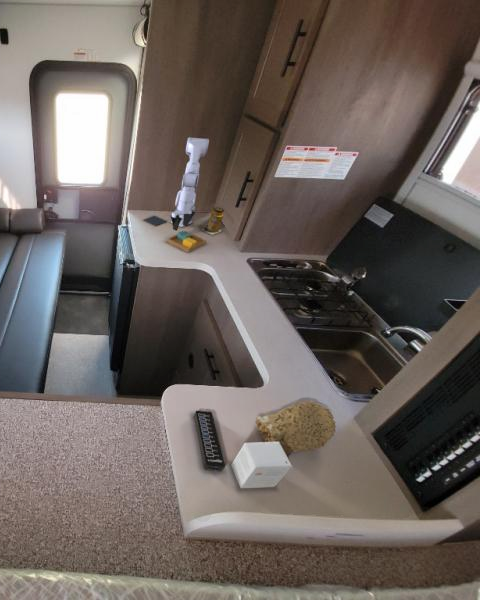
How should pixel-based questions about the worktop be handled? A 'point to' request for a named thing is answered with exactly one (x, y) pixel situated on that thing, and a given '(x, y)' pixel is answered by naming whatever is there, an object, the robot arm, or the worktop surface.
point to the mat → (154, 220)
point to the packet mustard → (189, 242)
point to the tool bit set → (209, 441)
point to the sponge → (298, 427)
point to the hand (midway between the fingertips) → (180, 227)
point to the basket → (179, 243)
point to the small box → (260, 464)
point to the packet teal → (182, 235)
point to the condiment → (214, 221)
